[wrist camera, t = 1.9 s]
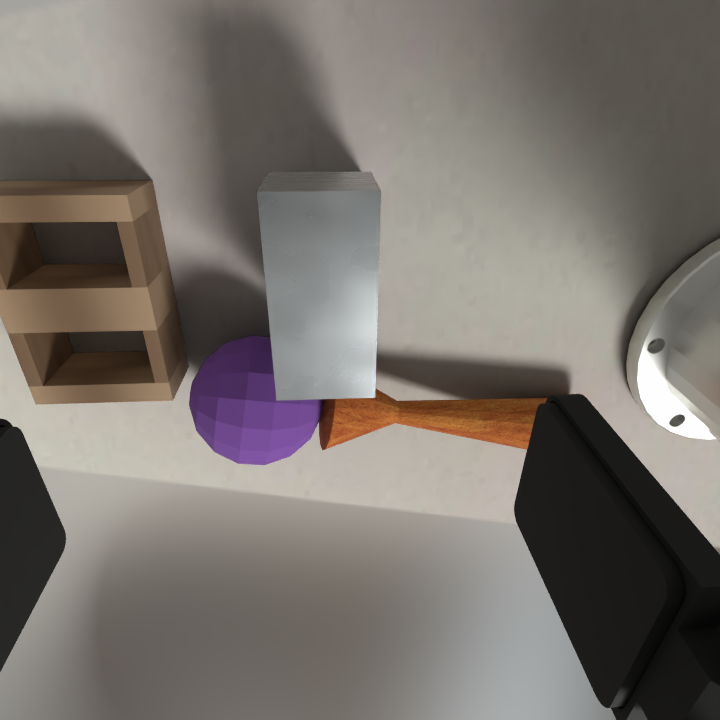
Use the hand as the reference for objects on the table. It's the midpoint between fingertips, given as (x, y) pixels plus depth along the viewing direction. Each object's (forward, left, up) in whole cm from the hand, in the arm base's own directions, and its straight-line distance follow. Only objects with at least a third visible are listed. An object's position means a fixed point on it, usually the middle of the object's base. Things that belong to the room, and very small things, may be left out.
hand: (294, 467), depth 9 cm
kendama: (-4, +8, -15) cm, 18 cm away
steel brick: (-1, 0, -15) cm, 15 cm away
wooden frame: (+9, +2, -15) cm, 18 cm away
